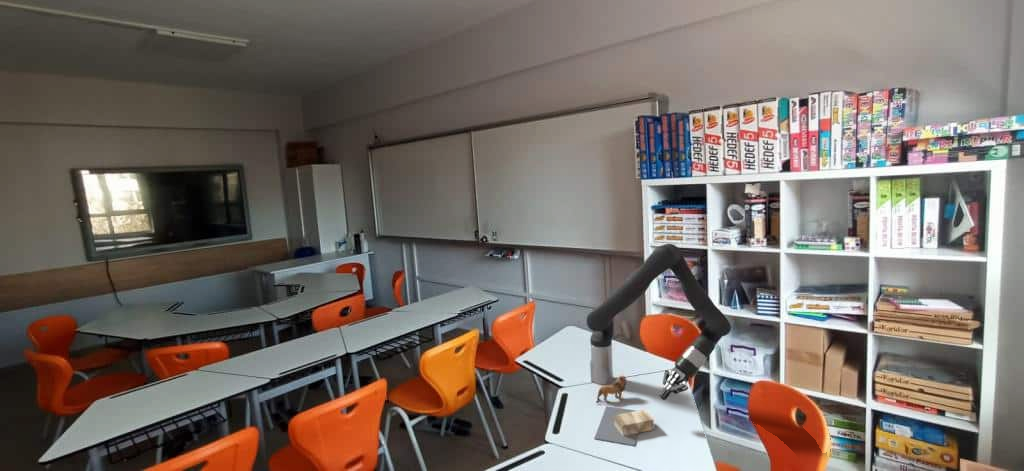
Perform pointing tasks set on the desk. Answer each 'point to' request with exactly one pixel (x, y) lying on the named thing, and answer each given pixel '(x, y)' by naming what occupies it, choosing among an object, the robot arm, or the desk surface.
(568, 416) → the desk surface
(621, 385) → the lion figurine
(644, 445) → the desk surface
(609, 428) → the slate mat
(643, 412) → the birch block
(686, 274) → the robot arm
